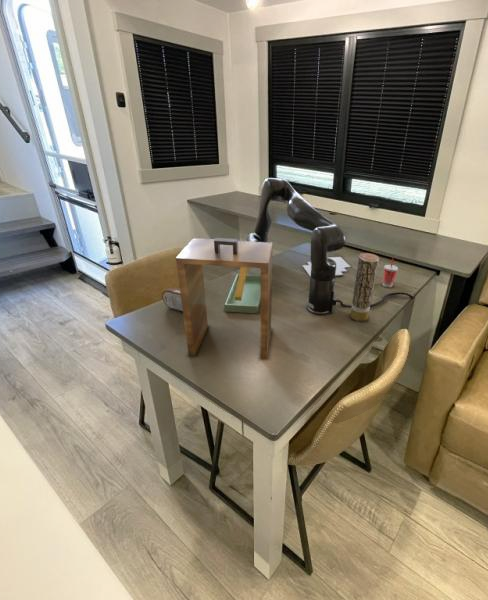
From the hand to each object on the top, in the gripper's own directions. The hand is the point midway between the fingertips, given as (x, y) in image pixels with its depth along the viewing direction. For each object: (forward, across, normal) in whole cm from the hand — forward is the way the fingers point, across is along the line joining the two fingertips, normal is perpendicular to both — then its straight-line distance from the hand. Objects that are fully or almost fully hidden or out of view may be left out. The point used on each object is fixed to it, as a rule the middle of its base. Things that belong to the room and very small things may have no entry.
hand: (244, 263), depth 135 cm
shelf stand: (+36, +3, +15) cm, 39 cm away
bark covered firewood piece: (+15, +47, +14) cm, 51 cm away
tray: (+4, +1, +12) cm, 13 cm away
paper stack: (-32, +36, +10) cm, 49 cm away
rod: (+3, 0, +5) cm, 6 cm away
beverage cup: (-15, +64, +11) cm, 66 cm away
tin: (+19, -20, +14) cm, 31 cm away
